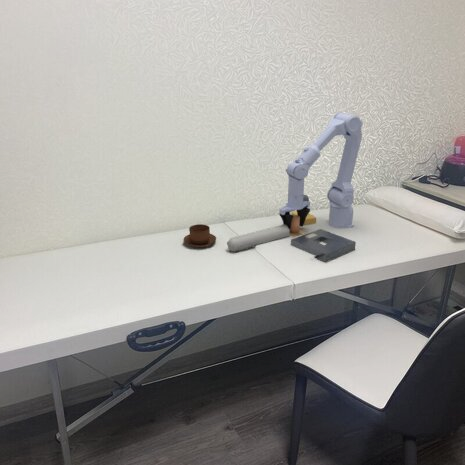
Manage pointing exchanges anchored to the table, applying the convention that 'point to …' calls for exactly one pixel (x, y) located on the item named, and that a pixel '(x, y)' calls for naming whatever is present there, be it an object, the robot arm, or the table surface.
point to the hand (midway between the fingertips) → (294, 228)
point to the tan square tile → (298, 233)
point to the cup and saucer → (199, 236)
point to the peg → (295, 224)
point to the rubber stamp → (310, 218)
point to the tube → (257, 238)
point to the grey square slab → (324, 252)
